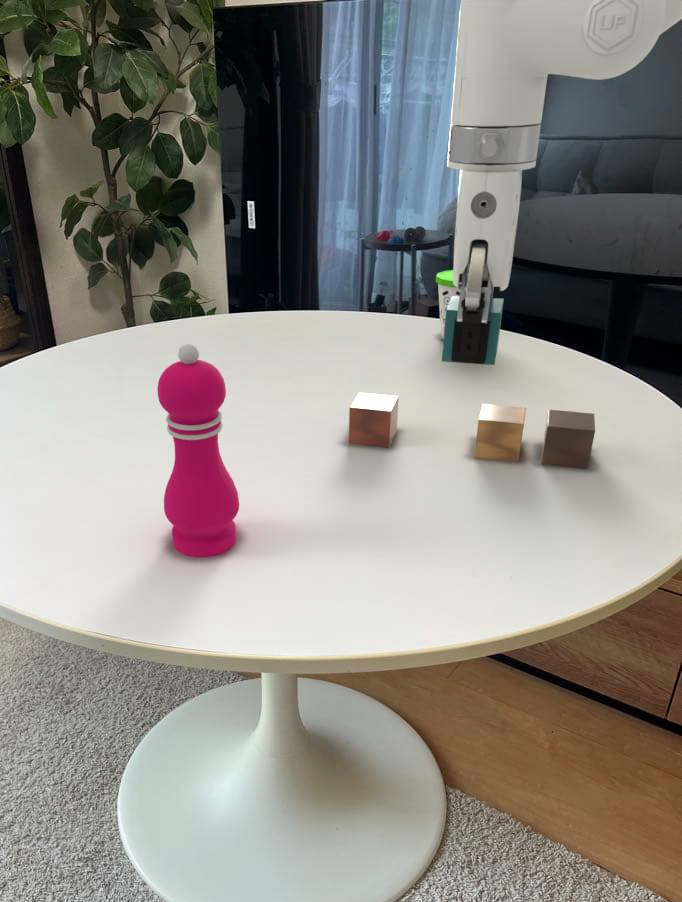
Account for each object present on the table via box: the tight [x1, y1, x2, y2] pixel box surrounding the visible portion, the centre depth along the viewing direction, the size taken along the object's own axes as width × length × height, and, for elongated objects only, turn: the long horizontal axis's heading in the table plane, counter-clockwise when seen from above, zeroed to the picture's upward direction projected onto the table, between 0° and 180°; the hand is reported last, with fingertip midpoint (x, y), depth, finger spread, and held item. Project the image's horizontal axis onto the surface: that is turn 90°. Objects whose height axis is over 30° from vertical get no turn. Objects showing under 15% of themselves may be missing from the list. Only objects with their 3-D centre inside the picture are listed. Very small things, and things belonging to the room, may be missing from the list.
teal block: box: [441, 296, 505, 366], centre depth 76 cm, size 5×5×5 cm
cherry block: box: [348, 392, 400, 449], centre depth 96 cm, size 5×5×5 cm
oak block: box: [473, 403, 527, 463], centre depth 92 cm, size 5×5×5 cm
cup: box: [435, 269, 461, 341], centre depth 126 cm, size 8×8×15 cm
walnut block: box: [540, 409, 596, 470], centre depth 90 cm, size 5×5×5 cm
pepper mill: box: [157, 343, 240, 558], centre depth 73 cm, size 7×7×20 cm
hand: (470, 350), depth 78 cm, fingers closed on teal block, 5 cm apart
